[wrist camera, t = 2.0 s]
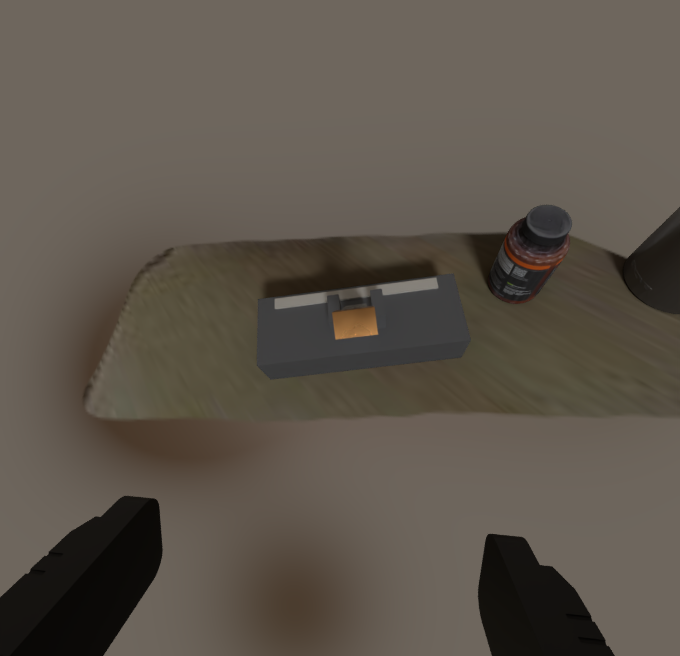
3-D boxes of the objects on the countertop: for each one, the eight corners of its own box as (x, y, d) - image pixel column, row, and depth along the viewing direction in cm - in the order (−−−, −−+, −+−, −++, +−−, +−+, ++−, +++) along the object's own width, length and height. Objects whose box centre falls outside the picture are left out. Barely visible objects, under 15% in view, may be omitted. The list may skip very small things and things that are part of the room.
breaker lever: (369, 302, 38) (374, 307, 23) (371, 319, 38) (377, 334, 23) (343, 306, 38) (331, 312, 23) (345, 322, 38) (335, 339, 24)
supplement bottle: (534, 263, 44) (578, 194, 34) (542, 306, 42) (592, 245, 32) (484, 263, 45) (512, 196, 35) (488, 305, 43) (521, 246, 33)
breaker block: (446, 296, 44) (458, 257, 37) (461, 357, 41) (477, 327, 33) (270, 318, 45) (249, 285, 38) (270, 379, 42) (247, 355, 35)
